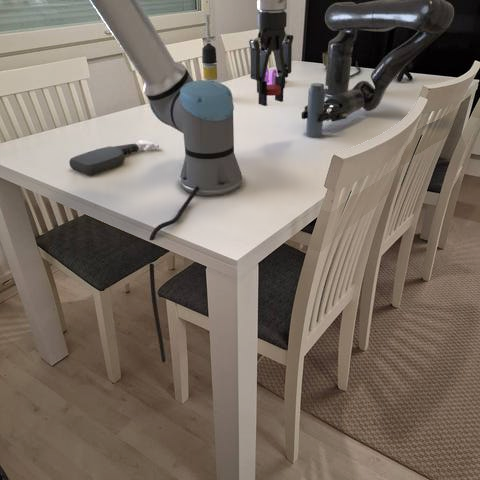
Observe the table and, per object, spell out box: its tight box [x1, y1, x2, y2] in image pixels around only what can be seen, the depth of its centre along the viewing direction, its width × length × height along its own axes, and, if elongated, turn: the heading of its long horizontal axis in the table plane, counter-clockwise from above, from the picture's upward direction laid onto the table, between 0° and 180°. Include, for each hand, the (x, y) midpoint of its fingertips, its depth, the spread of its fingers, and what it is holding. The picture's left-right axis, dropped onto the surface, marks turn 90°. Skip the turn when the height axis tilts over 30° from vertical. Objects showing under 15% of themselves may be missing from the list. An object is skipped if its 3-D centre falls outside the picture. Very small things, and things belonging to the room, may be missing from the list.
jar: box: [305, 82, 326, 138], centre depth 136 cm, size 5×5×15 cm
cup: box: [322, 51, 328, 71], centre depth 219 cm, size 8×7×8 cm
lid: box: [267, 85, 281, 97], centre depth 124 cm, size 5×5×2 cm
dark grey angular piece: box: [394, 59, 414, 83], centre depth 198 cm, size 11×10×15 cm
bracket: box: [264, 68, 278, 85], centre depth 197 cm, size 13×6×7 cm, turn 143°
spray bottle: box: [68, 139, 160, 177], centre depth 124 cm, size 3×11×24 cm
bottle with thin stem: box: [201, 14, 218, 82], centre depth 171 cm, size 6×6×30 cm
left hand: (270, 102), depth 126 cm, fingers closed on lid, 5 cm apart
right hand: (310, 117), depth 135 cm, fingers closed on jar, 5 cm apart
